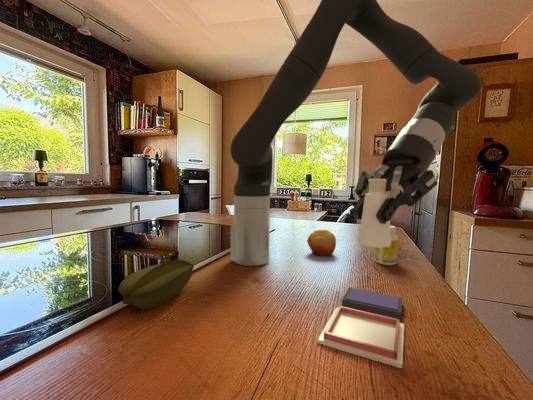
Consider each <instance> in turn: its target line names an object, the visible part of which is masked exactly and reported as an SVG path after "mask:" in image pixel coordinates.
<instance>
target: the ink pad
mask: <svg viewBox="0 0 533 400" xmlns="http://www.w3.org/2000/svg"><path fill="white" fill-rule="evenodd" d="M402 303H403V297H400V296H395V295H390V294H384V293H379V292H374V291H370V290H364V289H359V288H355V287H349V288H348V289H347V290H346V292H345V293H344V296H343V297H342V299H341V306H343V307H347V308H352V309H356V310H360V311H365V312H369V313H374V314H378V315H382V316H387V317H391V318H395V319H400V321H401V320H402V306H403V305H402Z"/></svg>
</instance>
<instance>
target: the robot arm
mask: <svg viewBox="0 0 533 400" xmlns="http://www.w3.org/2000/svg"><path fill="white" fill-rule="evenodd" d="M345 25H347V26H349V27H350V28H352V29H353V30H354V31H355V32H357V33H359V34H360V35H361V36H362V37H363V38H365V39H366V40H367V41H369V42H370V43H371V44H372V45H373V46H374V47H375V48H376V49H378V51H380V52H381V53H382V54H383V55H384V56H385V57H386V58H387V59H388V60H389V61H390V62H391V63H392V65H393V66H394V67H395V68H396V69H397V70H398V71H399V72H400V73H401V75H402V76H403V77H404V78H405V79H406V80H407V81H408V82H409V83H410V84H412V85H418V84H422V83H423V82H424V81H426V80H427V79H429V78H432V79H435V80H437V81H438V82H437V83H436V84H435V85H434V86H433V87H432V88H431V89H430V90H429V91H428V92H427V93H426V94H425V96H424V97H422V99H421V101H420V103H419V104H418V107H417V110H416V112H415V113H414V114H413V116H412V117H411V119H410V120H409V121H408V123H407V124H406V126H404V127H403V128H402V129H401V131H400V132H399V134H398V135H397V136H396V138H395V139H394V140H393V142H392V143H391V144H390V146H389V147H388V149H387V150H386V151H385V153H384V155H383V158H382V162H381V165H380V166H378V167H377V168H376V169H375V170H374V171H372V172H369V173H368V172H367V170H363V171H361V172H360V173H359V176H358V180H357V183H356V186H355V189H354V192H355V194H356V195H357V197H358V199H359V200H358V201H357V202H356V204H355V205H354V207H353V209H352V214H353V215H354V217H355V218H356V220H360V221H361V219H362V212H363V206H364V199H365V194H367V193H369V179H386V180H387V182H386V187H385V188H386V189H385V193H386V194H387V193H388V192H389V194H388V195H389V199H387V198H386V200H385V201H384V203H383V204H382V206H381V207H380V209H379V210H378V212H377V214H376V217H377V219H378V221H379V222H380V223H382V224H386V222H387V221H389V220H390V221H391V219H392V218H393V216H394V215H395V214H396V211H397V210H398V209H400V208H401V207H403V206H404V205H406V206H407V207H413V206H414V205H416V203H418V202H419V201H420V200H421V199H422V198H423V197H425V196H426V195H427V194H428V193H429V192H431V190H433V188H435V187H436V186H437V185H438V181H437V178H436V175H435V174H434V171H433V170H431V169H429V168H430V166H431V165H432V163H433V162H434V160H435V158H436V157H437V155H438V153H439V152H440V150H441V148H442V145H443V143H444V142H445V139H446V137H447V136H448V134H449V132H450V130H452V128H453V125H454V124H455V119H456V116H455V114H456V113H457V112H458V111H460V110H461V109H462V108H464V107H465V106H466V105H468V104H469V103H470V102H471V101H472V100H474V99H476V97H477V96H479V94H480V92H481V89H482V81H481V78H480V76H479V74H478V73H477V72H476V71H475V70H473V69H472V68H470V67H469V66H466V65H464V64H462V63H460V62H458V61H456V60H454V59H452V58H451V57H449V56H447V55H445V54H443V53H441V52H440V51H439V50H437V49H436V47H435V46H433V44H432V43H431V42H430V41H429V40H428V39H427V38H426V37H425V36H424V35H423V34H422V33H421V32H419V31H418V30H416V29H415V28H413V27H412V26H409V25H406V24H404V23H401V22H398V21H397V20H394V19H393V18H391V17H390V16H389V15H388V14H387V13H386V12H385V11H384V10H383V8H382V6H381V5H380V4H379V2H378V1H377V0H321V1H320V3H319V5H318V6H317V8H316V10H315V12H314V14H313V15H312V17H311V19H310V21H309V22H308V23H307V25H306V27H305V28H304V30H303V32H301V35H300V37H299V38H298V39H297V41H296V43H295V45H294V47H292V49H291V51H290V52H289V53H288V55H287V56H286V58H285V60H284V61H283V63H282V65H281V66H280V68H278V69H279V70H278V71H277V73H276V75H275V76H274V79H273V80H272V82H271V83H270V85H269V87H268V88H267V89H266V91H265V93H264V94H263V97H262V98H261V100H260V102H259V103H258V105H257V107H256V108H255V109H254V111H253V112H252V113H251V115H250V116H249V117H248V119H247V120H246V121H245V122H244V124H243V125H242V126H241V127H240V128H239V130H238V131H237V132H236V134H235V136H234V137H233V138H232V140H231V143H230V156H231V159H232V160H233V161H234V163H235V164H236V165H237V166H238V168H237V171H238V172H237V178H236V181H235V183H234V187H233V217H234V218H233V223H232V224H231V225H230V261H231V262H234V264H236V265H240V266H244V267H245V266H246V267H247V266H248V267H257V266H261V265H266V264H268V263H269V262H270V222H271V217H270V215H271V214H270V213H271V210H270V209H271V185H272V182H273V148H272V143H273V141H274V139H275V136H276V135H277V133H279V130H280V129H281V127H282V125H283V124H284V123H285V122H286V120H288V118H289V117H290V116H292V114H294V112H296V111H297V110H298V109H299V108H300V106H301V105H303V103H304V102H306V100H307V99H308V97H309V96H310V95H311V93H312V92H313V91H314V89H315V87H316V86H317V85H318V84H319V82H320V79H321V78H322V76H323V75H324V73H325V71H326V68H327V66H328V64H329V62H330V59H331V57H332V54H333V51H334V48H335V46H336V43H337V41H338V38H339V36H340V33H341V31H342V30H343V28H344V26H345Z"/></svg>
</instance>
